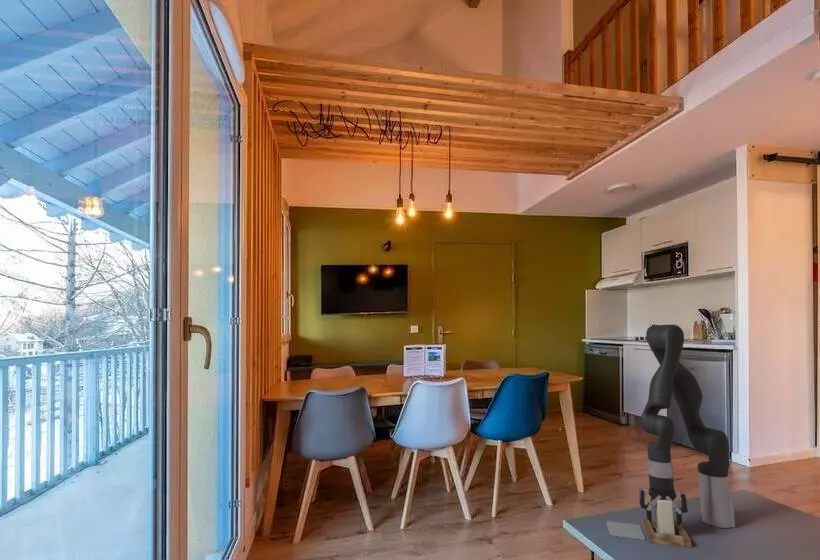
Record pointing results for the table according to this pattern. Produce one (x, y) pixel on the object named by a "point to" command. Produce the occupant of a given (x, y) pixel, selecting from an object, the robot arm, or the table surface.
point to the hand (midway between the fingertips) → (664, 522)
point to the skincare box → (664, 517)
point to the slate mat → (625, 530)
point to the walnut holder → (666, 539)
